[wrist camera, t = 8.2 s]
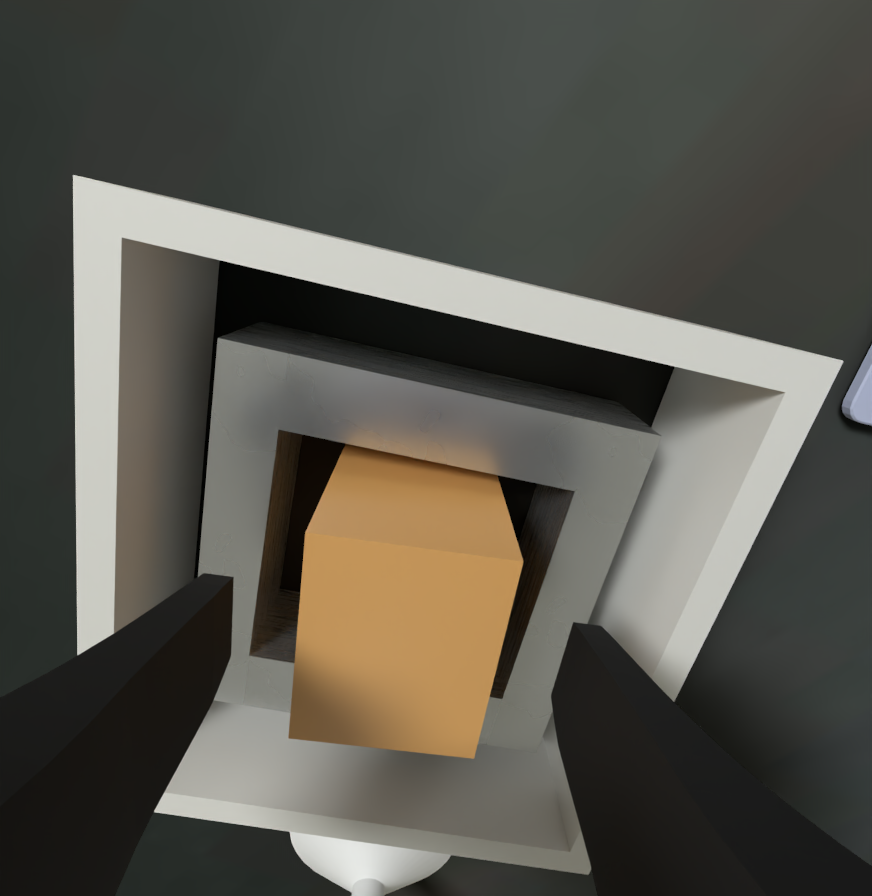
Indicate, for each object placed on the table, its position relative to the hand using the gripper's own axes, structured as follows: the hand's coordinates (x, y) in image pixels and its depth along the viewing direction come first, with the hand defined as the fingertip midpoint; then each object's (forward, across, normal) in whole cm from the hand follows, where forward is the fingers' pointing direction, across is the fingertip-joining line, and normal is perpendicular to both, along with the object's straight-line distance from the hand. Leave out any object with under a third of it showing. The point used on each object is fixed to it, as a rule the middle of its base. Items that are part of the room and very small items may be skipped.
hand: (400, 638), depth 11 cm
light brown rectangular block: (+5, 0, 0) cm, 5 cm away
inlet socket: (+5, 0, 0) cm, 5 cm away
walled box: (+5, 0, 0) cm, 5 cm away
